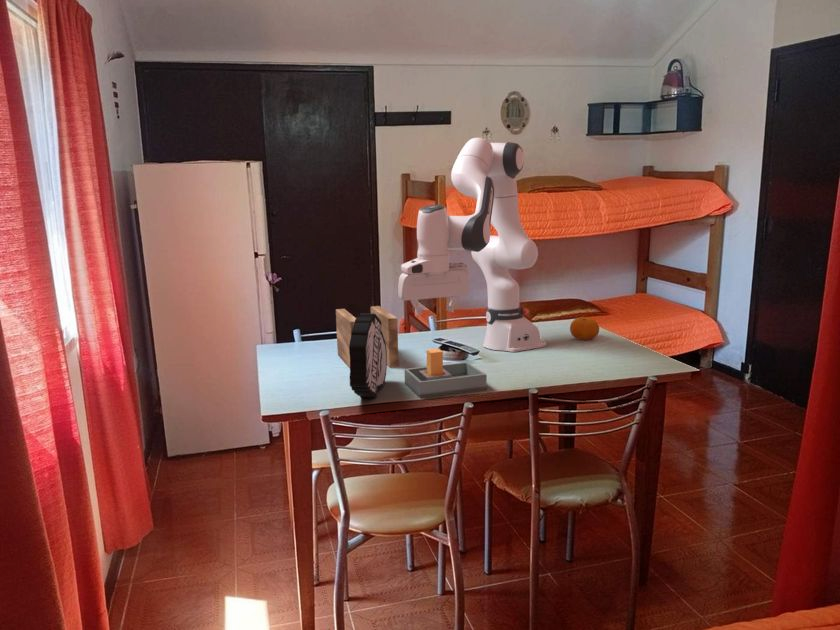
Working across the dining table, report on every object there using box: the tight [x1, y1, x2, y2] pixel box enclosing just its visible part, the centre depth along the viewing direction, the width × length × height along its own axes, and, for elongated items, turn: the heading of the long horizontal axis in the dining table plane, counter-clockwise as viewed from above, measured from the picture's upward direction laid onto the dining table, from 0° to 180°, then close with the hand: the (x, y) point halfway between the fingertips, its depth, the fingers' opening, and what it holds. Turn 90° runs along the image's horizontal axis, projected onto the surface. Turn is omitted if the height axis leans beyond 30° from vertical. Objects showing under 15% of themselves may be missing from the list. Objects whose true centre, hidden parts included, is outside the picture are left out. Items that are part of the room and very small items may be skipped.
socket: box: [419, 369, 452, 381], centre depth 193 cm, size 7×7×4 cm
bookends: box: [335, 305, 399, 369], centre depth 222 cm, size 15×22×16 cm
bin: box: [403, 361, 488, 399], centre depth 194 cm, size 20×14×4 cm
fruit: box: [569, 316, 600, 341], centre depth 246 cm, size 10×10×8 cm
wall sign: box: [349, 312, 388, 399], centre depth 186 cm, size 22×4×30 cm
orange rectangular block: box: [426, 348, 444, 376], centre depth 192 cm, size 4×4×10 cm
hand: (434, 313), depth 189 cm, fingers open, 8 cm apart
